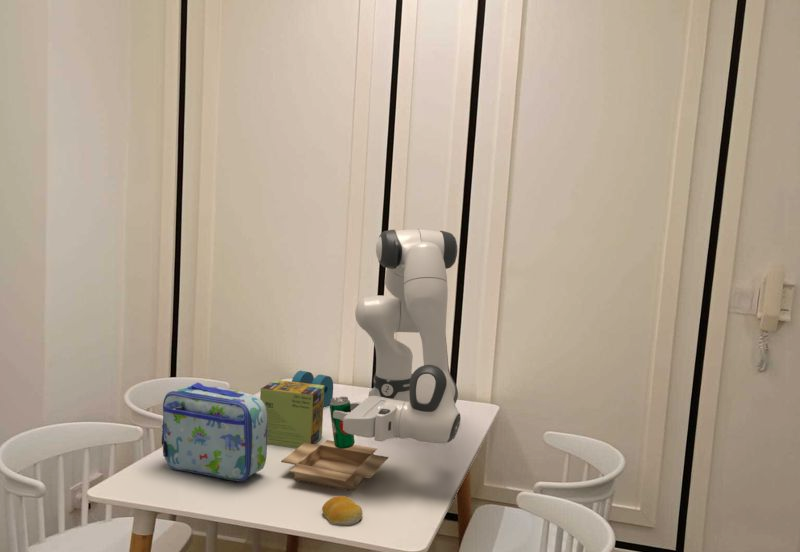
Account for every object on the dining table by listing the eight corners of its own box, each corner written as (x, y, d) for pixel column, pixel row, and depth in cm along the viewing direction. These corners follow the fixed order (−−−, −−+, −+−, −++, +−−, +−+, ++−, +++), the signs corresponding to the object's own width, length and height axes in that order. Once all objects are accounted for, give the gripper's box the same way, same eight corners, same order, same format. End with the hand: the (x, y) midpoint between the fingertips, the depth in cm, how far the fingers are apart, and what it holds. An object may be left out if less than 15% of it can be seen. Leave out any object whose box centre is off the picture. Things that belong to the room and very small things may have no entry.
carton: (310, 451, 194) (311, 437, 193) (392, 465, 188) (393, 451, 187) (272, 483, 172) (272, 467, 171) (362, 500, 166) (363, 484, 165)
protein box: (310, 450, 195) (313, 394, 193) (257, 443, 198) (259, 388, 196) (322, 438, 205) (325, 385, 203) (271, 431, 208) (273, 378, 206)
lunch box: (154, 467, 177) (156, 384, 174) (183, 454, 187) (185, 375, 184) (244, 490, 167) (247, 402, 165) (269, 474, 177) (273, 391, 175)
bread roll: (335, 530, 151) (336, 512, 151) (317, 512, 159) (318, 495, 158) (369, 522, 156) (370, 505, 155) (350, 505, 163) (351, 489, 163)
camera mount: (305, 398, 242) (307, 368, 240) (332, 404, 237) (333, 373, 236) (272, 411, 226) (274, 379, 224) (300, 418, 221) (302, 385, 220)
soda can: (335, 443, 181) (330, 397, 180) (355, 441, 181) (350, 395, 180) (333, 450, 176) (328, 402, 175) (354, 448, 176) (348, 400, 175)
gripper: (404, 394, 184) (353, 386, 187) (380, 417, 164) (323, 408, 168) (403, 417, 184) (352, 410, 188) (378, 444, 165) (322, 435, 169)
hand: (338, 409), depth 178 cm, fingers closed on soda can, 5 cm apart
